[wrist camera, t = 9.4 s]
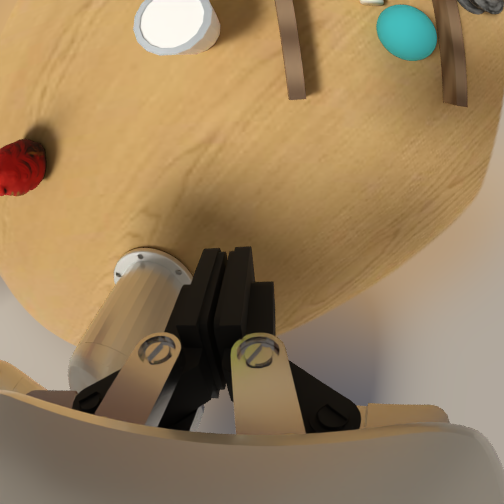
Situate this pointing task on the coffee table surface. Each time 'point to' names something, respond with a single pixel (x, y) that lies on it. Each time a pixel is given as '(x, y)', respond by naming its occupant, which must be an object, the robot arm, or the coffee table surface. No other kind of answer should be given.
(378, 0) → the pin
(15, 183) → the red rounded lumpy piece
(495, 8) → the dark gray figurine
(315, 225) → the coffee table surface
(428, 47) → the ball
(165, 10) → the white cup
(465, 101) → the bumper lane
